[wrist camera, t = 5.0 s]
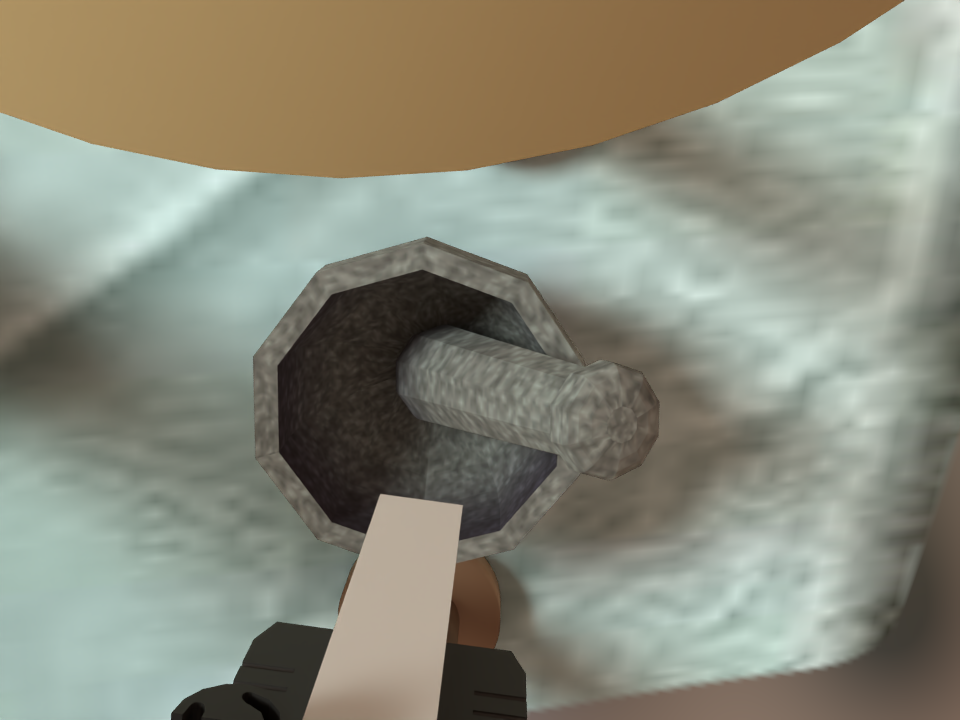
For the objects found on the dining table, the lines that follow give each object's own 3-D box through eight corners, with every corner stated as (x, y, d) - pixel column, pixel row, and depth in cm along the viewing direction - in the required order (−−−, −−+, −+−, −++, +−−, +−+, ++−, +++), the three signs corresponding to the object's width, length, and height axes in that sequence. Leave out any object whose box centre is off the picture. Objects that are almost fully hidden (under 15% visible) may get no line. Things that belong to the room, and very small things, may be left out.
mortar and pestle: (345, 504, 34) (262, 706, 22) (264, 265, 32) (123, 351, 20) (639, 431, 33) (712, 602, 21) (576, 178, 30) (620, 214, 19)
